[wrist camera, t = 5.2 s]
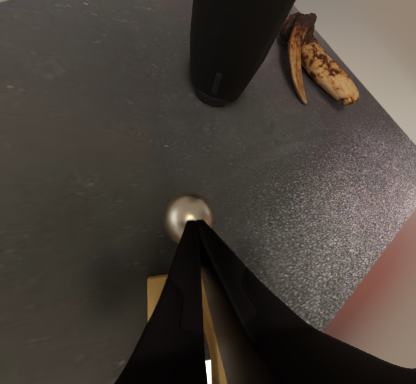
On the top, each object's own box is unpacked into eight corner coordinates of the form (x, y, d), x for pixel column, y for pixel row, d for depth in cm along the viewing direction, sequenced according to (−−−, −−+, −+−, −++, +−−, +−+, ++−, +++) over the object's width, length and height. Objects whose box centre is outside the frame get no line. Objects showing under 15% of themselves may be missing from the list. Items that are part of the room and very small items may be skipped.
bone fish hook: (251, 46, 31) (319, 128, 29) (264, 14, 26) (345, 109, 25) (289, 27, 33) (354, 102, 31) (307, -5, 28) (383, 81, 27)
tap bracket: (148, 276, 20) (131, 310, 12) (217, 267, 22) (245, 291, 13) (150, 381, 18) (131, 511, 10) (225, 363, 20) (264, 461, 11)
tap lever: (161, 192, 14) (158, 195, 10) (207, 190, 15) (219, 192, 11) (170, 363, 15) (169, 420, 11) (212, 354, 16) (224, 404, 12)
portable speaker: (208, 50, 28) (278, -309, 9) (254, 87, 28) (415, -191, 10) (173, 82, 26) (174, -313, 7) (224, 123, 26) (358, -155, 7)
